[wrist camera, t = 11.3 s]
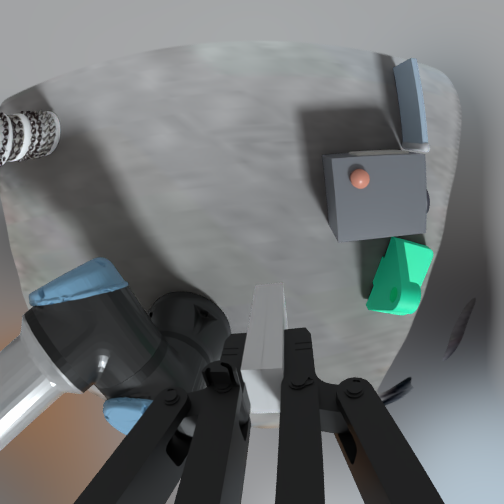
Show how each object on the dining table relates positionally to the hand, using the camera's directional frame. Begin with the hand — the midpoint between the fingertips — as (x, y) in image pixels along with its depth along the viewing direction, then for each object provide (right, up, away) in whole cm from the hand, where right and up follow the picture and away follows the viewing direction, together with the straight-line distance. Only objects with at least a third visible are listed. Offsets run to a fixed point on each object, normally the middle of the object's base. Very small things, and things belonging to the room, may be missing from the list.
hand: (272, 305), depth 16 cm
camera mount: (+22, 0, +27) cm, 35 cm away
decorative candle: (-38, +24, +23) cm, 51 cm away
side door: (+20, +23, +17) cm, 35 cm away
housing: (+15, +12, +22) cm, 29 cm away
